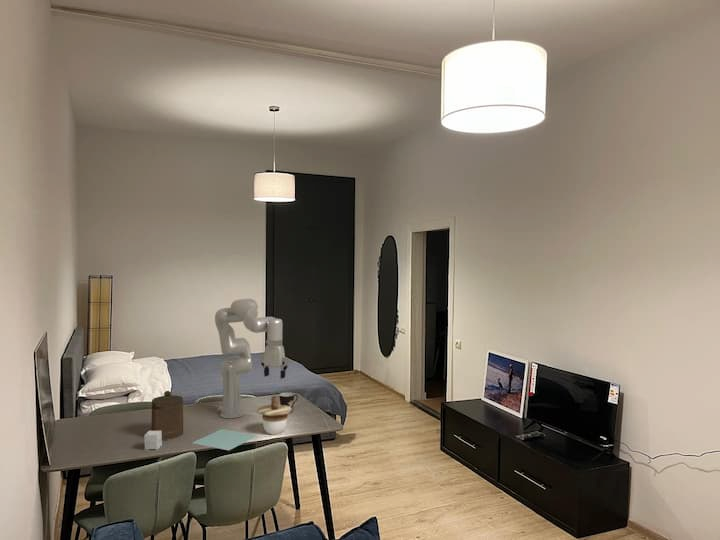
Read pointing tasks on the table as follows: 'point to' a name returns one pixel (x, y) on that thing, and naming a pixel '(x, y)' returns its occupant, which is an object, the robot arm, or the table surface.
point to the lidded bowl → (274, 424)
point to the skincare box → (153, 439)
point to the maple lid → (274, 408)
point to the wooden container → (168, 415)
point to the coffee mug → (287, 399)
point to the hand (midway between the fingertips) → (274, 377)
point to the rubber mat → (224, 439)
